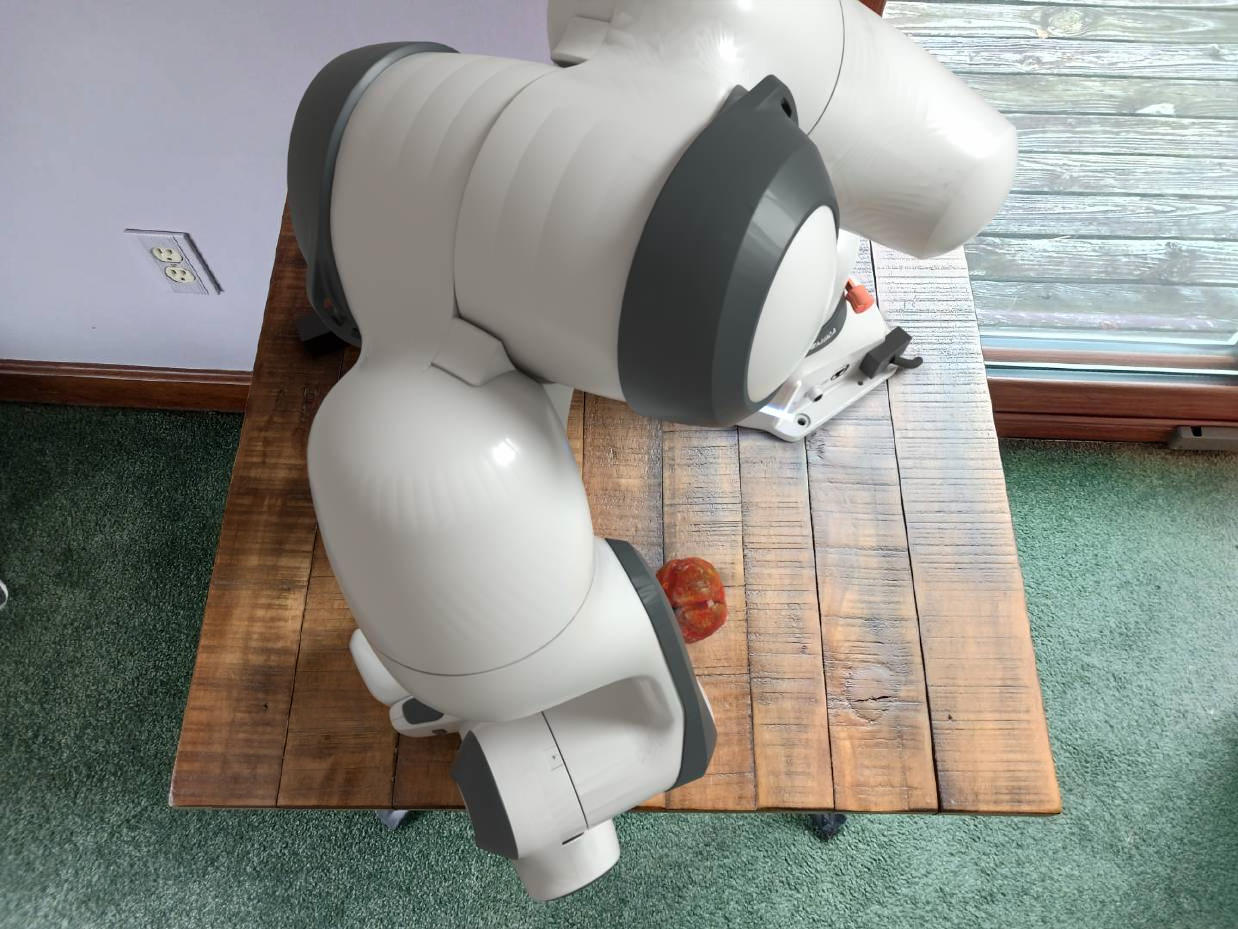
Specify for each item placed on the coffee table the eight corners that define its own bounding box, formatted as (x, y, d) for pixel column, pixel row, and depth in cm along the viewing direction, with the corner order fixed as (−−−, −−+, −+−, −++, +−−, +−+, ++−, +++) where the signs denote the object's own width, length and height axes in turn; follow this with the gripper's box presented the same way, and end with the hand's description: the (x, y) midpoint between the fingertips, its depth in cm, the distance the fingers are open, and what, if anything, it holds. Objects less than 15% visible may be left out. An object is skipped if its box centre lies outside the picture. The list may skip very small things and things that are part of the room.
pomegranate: (676, 566, 79) (608, 595, 72) (725, 530, 74) (659, 558, 67) (715, 633, 77) (651, 670, 70) (768, 600, 73) (705, 637, 65)
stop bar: (411, 299, 89) (403, 279, 86) (420, 319, 88) (413, 300, 85) (305, 337, 87) (293, 319, 84) (313, 359, 86) (301, 341, 82)
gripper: (615, 625, 65) (548, 482, 70) (374, 737, 62) (321, 579, 67) (615, 640, 71) (553, 508, 76) (394, 744, 68) (344, 598, 73)
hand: (443, 542), depth 72 cm, fingers closed
